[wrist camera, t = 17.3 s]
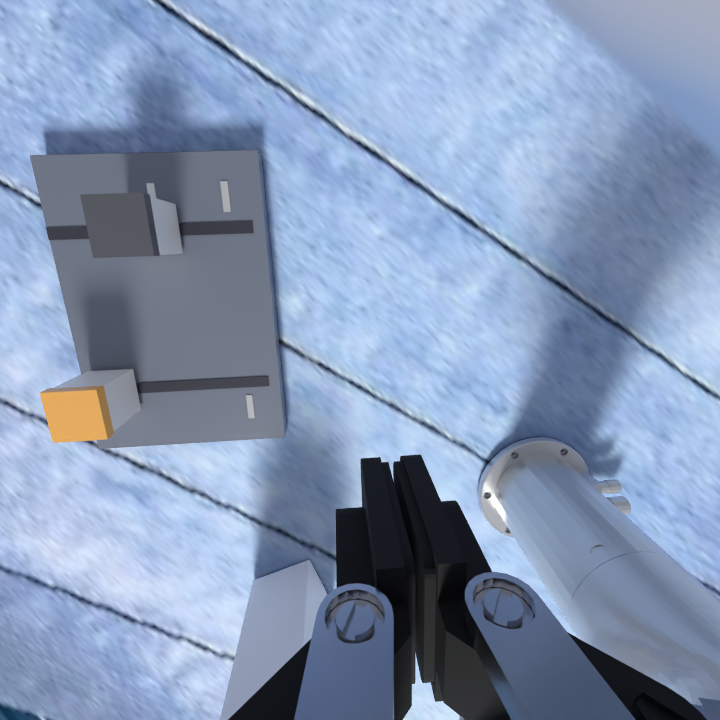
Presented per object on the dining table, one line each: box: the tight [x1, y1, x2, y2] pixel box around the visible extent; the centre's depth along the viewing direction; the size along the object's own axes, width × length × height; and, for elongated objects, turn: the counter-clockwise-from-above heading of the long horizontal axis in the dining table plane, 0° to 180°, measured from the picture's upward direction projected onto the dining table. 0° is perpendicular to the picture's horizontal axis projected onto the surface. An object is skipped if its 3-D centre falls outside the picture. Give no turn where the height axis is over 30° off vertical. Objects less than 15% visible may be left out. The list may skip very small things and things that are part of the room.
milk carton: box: [220, 560, 327, 720], centre depth 38 cm, size 7×7×19 cm
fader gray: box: [80, 193, 183, 258], centre depth 30 cm, size 4×4×6 cm
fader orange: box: [40, 369, 141, 443], centre depth 34 cm, size 4×4×6 cm
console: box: [30, 150, 287, 449], centre depth 37 cm, size 18×26×2 cm
